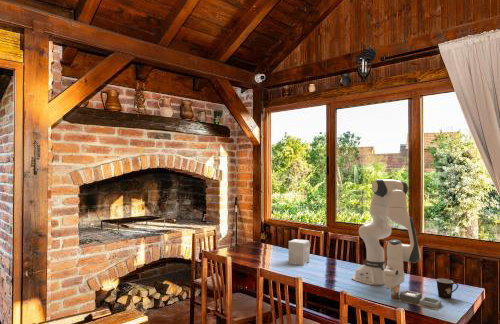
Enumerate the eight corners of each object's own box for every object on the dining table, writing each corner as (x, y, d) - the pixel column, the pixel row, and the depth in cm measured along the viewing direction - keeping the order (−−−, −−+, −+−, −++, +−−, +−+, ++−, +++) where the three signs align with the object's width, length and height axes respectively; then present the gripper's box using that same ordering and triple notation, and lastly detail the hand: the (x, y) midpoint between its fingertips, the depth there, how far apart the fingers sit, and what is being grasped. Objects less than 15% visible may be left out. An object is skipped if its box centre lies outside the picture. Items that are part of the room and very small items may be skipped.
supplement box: (309, 262, 290) (309, 240, 290) (303, 265, 278) (303, 243, 279) (294, 259, 296) (294, 238, 297) (288, 263, 285) (288, 241, 286)
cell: (390, 299, 204) (390, 284, 204) (392, 297, 207) (392, 282, 207) (397, 301, 201) (397, 286, 202) (399, 299, 204) (399, 284, 205)
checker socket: (399, 300, 201) (399, 292, 201) (405, 296, 208) (405, 288, 208) (416, 304, 195) (416, 296, 195) (421, 300, 202) (421, 292, 202)
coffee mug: (437, 299, 204) (437, 282, 205) (435, 294, 213) (435, 278, 213) (460, 302, 200) (460, 284, 201) (457, 297, 208) (457, 280, 209)
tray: (419, 304, 194) (419, 300, 194) (424, 300, 200) (424, 296, 200) (436, 309, 188) (436, 304, 188) (441, 304, 194) (441, 300, 195)
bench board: (397, 301, 201) (397, 300, 201) (404, 296, 209) (404, 295, 209) (436, 311, 187) (436, 309, 187) (442, 305, 195) (442, 304, 195)
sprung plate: (404, 296, 201) (404, 294, 201) (407, 294, 205) (407, 292, 205) (413, 298, 198) (413, 296, 198) (416, 296, 202) (416, 294, 202)
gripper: (396, 264, 215) (396, 287, 214) (382, 271, 200) (382, 296, 199) (407, 266, 210) (407, 290, 210) (393, 273, 195) (393, 299, 195)
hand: (395, 293), depth 204 cm, fingers open, 4 cm apart
